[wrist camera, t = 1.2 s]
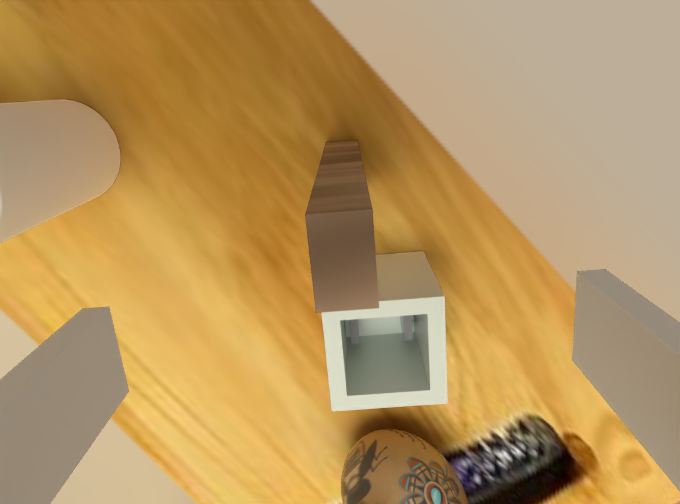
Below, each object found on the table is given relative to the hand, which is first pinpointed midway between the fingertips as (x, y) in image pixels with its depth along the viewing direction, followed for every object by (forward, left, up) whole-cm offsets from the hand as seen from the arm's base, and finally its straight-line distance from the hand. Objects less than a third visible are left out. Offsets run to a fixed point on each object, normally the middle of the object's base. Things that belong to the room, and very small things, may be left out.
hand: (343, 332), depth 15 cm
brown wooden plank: (0, 0, -30) cm, 30 cm away
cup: (-3, -22, -30) cm, 37 cm away
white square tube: (+12, +2, -30) cm, 32 cm away
